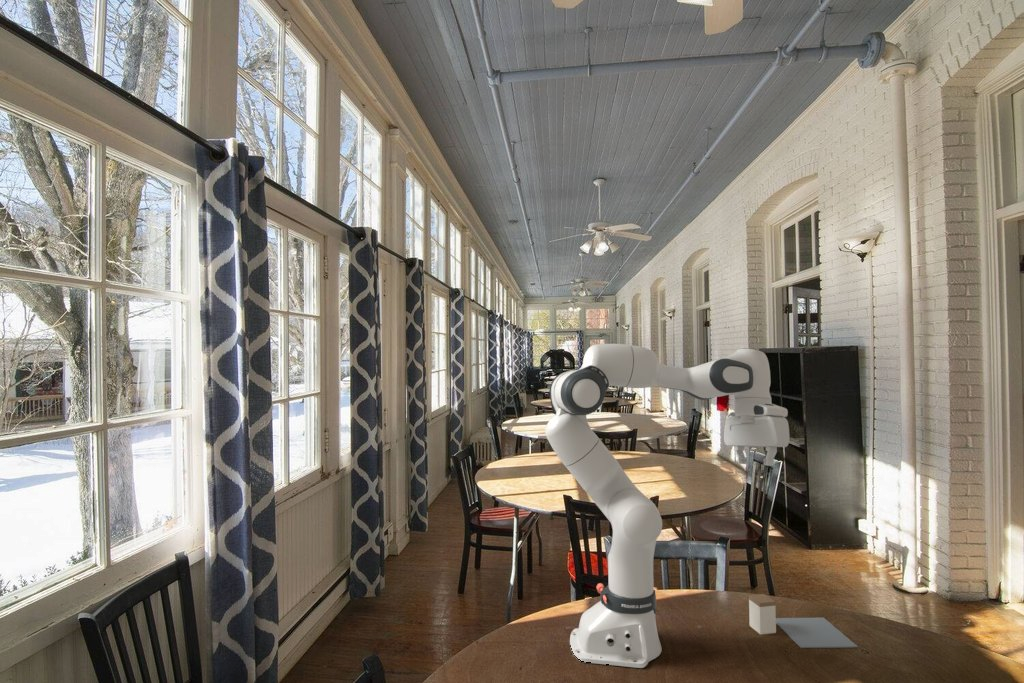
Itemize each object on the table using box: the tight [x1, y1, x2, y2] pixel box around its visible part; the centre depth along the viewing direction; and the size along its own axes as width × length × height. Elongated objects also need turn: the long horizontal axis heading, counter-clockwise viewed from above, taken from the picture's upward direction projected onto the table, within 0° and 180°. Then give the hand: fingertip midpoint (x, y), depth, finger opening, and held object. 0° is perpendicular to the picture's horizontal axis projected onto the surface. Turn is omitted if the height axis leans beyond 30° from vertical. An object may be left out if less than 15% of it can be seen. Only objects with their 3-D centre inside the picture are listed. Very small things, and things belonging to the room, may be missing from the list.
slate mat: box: [776, 617, 859, 649], centre depth 135 cm, size 14×14×1 cm
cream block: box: [748, 593, 777, 635], centre depth 137 cm, size 4×4×8 cm
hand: (755, 464), depth 133 cm, fingers open, 8 cm apart
